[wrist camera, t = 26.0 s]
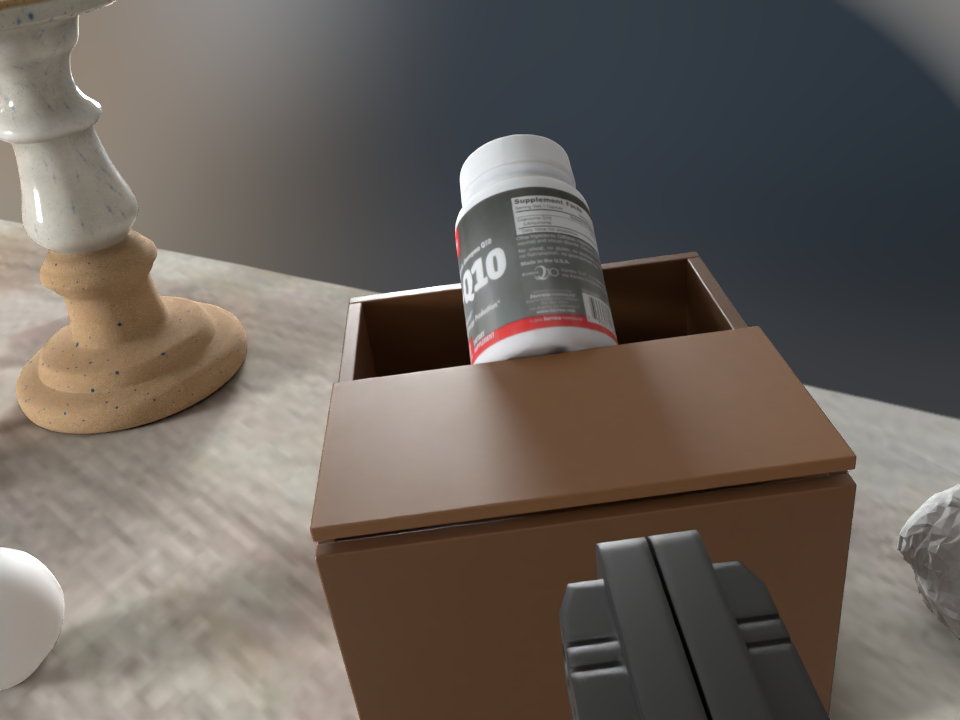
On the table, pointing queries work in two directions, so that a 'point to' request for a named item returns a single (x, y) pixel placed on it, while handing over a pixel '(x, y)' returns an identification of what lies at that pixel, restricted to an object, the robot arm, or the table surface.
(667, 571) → the robot arm
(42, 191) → the candle holder
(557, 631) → the carton
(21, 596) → the white ball
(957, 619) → the pebble
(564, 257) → the pill bottle
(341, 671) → the table surface
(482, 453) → the flap
